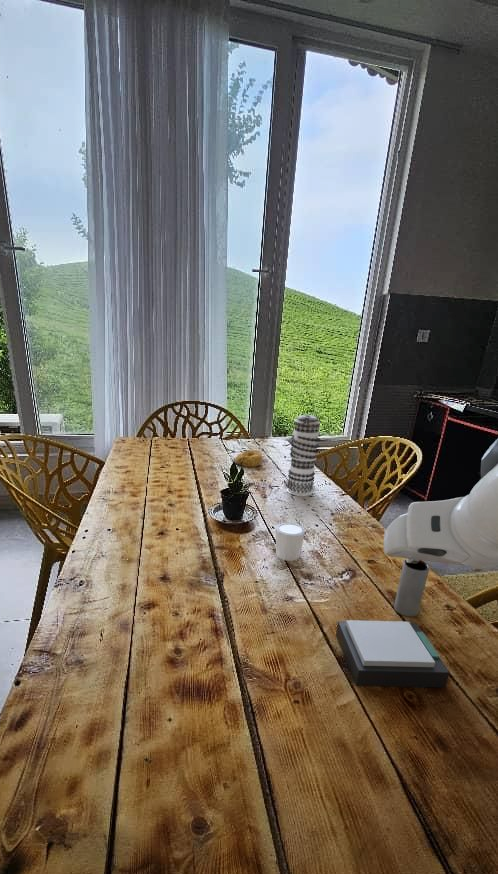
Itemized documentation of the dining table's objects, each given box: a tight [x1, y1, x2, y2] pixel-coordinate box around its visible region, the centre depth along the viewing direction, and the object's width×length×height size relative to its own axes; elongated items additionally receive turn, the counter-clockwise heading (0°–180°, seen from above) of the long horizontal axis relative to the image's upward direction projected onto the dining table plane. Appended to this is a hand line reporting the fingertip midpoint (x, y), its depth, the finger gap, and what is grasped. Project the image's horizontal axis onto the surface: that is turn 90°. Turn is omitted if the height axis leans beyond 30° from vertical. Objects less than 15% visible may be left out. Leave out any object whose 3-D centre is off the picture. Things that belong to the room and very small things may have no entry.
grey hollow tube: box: [393, 559, 430, 618], centre depth 85 cm, size 4×4×10 cm
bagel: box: [233, 449, 263, 468], centre depth 173 cm, size 10×11×5 cm
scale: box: [335, 619, 451, 688], centre depth 73 cm, size 14×12×4 cm
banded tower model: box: [286, 414, 322, 497], centre depth 143 cm, size 9×9×25 cm
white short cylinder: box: [275, 522, 306, 562], centre depth 105 cm, size 7×7×7 cm
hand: (443, 562), depth 69 cm, fingers open, 8 cm apart
